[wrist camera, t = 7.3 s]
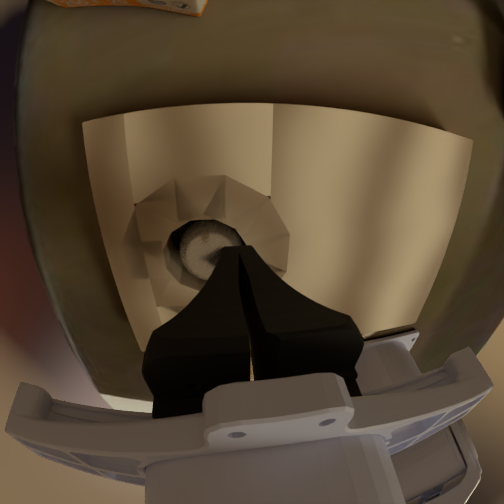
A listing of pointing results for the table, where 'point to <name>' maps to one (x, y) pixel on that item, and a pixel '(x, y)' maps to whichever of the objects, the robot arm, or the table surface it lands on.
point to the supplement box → (143, 4)
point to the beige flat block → (278, 202)
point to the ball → (206, 245)
